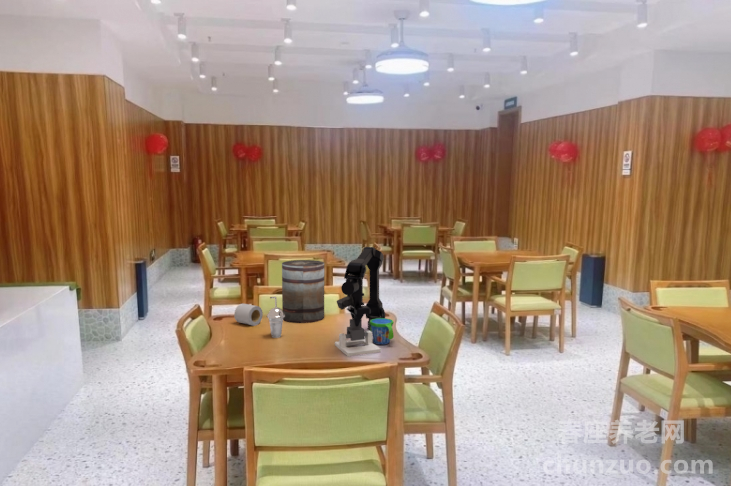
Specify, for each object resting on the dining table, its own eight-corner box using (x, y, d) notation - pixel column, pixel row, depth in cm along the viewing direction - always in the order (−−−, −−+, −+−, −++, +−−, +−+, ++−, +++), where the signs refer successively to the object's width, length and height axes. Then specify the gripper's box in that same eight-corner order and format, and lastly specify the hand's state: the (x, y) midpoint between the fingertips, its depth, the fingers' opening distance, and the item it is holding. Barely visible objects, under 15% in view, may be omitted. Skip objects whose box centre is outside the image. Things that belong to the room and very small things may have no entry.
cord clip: (359, 335, 221) (359, 316, 220) (364, 339, 216) (364, 320, 215) (346, 337, 219) (346, 318, 218) (351, 340, 214) (351, 321, 213)
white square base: (365, 341, 227) (365, 327, 226) (380, 352, 212) (380, 337, 211) (334, 345, 221) (334, 330, 220) (347, 356, 206) (348, 341, 205)
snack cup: (363, 339, 230) (363, 317, 229) (383, 336, 235) (383, 315, 234) (379, 349, 216) (379, 326, 215) (400, 345, 221) (400, 323, 220)
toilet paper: (262, 323, 256) (262, 304, 255) (248, 327, 248) (248, 308, 247) (248, 320, 262) (248, 301, 261) (234, 324, 253) (234, 305, 252)
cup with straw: (289, 336, 234) (288, 294, 231) (273, 340, 227) (273, 297, 225) (278, 332, 239) (277, 292, 237) (262, 336, 233) (262, 294, 231)
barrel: (323, 312, 280) (323, 259, 277) (325, 322, 258) (325, 266, 255) (283, 313, 278) (282, 260, 274) (281, 323, 255) (280, 266, 252)
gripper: (331, 288, 221) (331, 322, 222) (346, 296, 204) (346, 333, 205) (354, 286, 225) (354, 319, 227) (371, 294, 208) (370, 330, 210)
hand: (355, 325), depth 217 cm, fingers closed on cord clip
